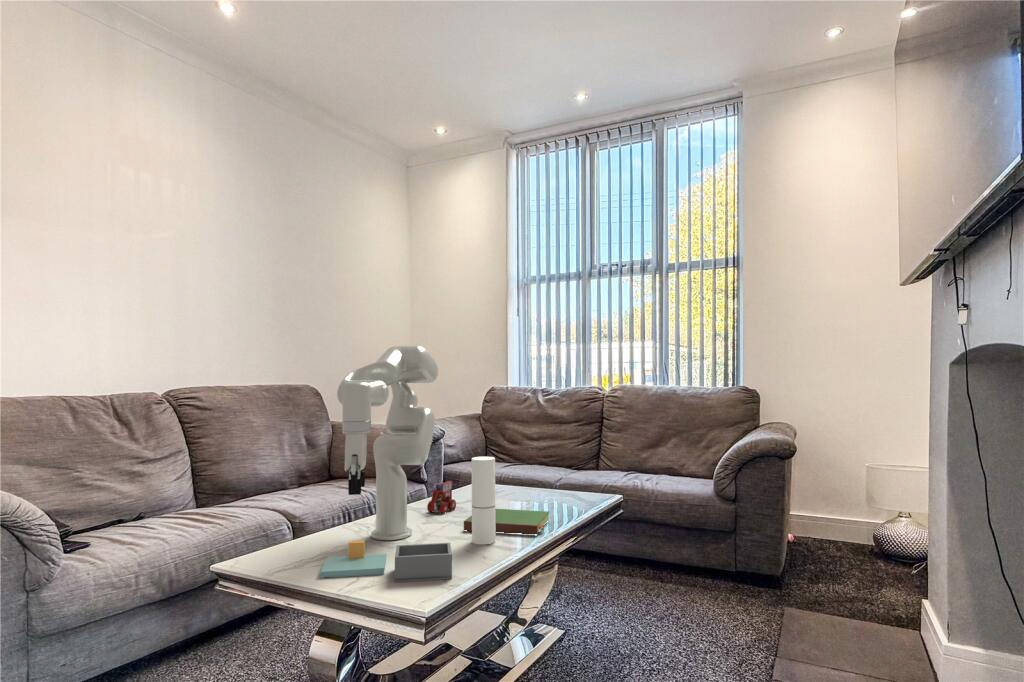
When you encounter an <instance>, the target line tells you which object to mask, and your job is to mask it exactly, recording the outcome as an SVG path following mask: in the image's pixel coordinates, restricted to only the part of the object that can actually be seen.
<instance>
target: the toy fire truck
mask: <svg viewBox="0 0 1024 682" xmlns="http://www.w3.org/2000/svg"><path fill="white" fill-rule="evenodd" d="M452 491H453V481H452V480H447V481H445V482H442V483H437V484H436V485H435V489H434V490H433V492H432V496H431V500H430V501H429V502H428V503H427V505H426V510H427V511H428V512H429V513H433V512H432V511H434V512H437V511H438V512H439V513H440V514H442V513H445V512H448V511H450V510H453V509H454V510H455V509H456V506H457V502H456V500H455V499H453V498H452V496H453V495H452ZM454 510H453V511H454Z"/></svg>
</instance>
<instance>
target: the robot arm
mask: <svg viewBox="0 0 1024 682" xmlns="http://www.w3.org/2000/svg"><path fill="white" fill-rule="evenodd" d="M438 375H439V366H438V363H437V361H436V360H435V358H434V357H433V355H431V353H430V352H429V351H428V350H427V349H426V348H424V347H423V346H420V345H394V346H391V347H390V348H387V349H386V350H385V352H384V353H383V354H381V356H380V357H379V358H378V359H377V360H376V362H373V363H370V364H368V365H364V366H362V367H359V368H357V369H355V370H352V371H350V372H349V373H348V374H347V375H346V376H345V377H344V378H343V379H342V380H341V382H339V383H340V384H339V385H338V387H337V393H336V397H337V400H338V402H339V403H340V404H341V405H342V426H341V427H342V434H343V435H345V441H344V442H345V443H344V471H345V472H349V473H348V480H347V483H348V485H347V486H348V490H347V491H348V495H349V496H353V495H354V496H355V495H361V493H362V487H365V485H366V482H365V481H366V474H365V473H366V471H365V467H366V465H367V450H368V449H367V445H368V444H367V441H368V439H367V438H368V436H367V434H370V433H372V420H371V419H372V407H380V406H383V405H384V404H386V402H387V401H388V399H389V397H390V391H389V390H390V389H389V386H390V388H391V392H392V393H391V394H392V399H391V403H390V407H389V410H388V412H387V413H388V414H387V417H386V421H385V430H386V432H387V434H386V433H385V434H381V435H380V436H378V437H377V438H376V439H375V440H374V443H373V446H372V447H373V448H372V449H373V450H372V451H373V457H374V458H373V459H374V463H375V464H374V465H375V476H376V477H375V478H376V479H375V480H376V481H375V483H376V484H375V487H376V489H375V490H376V491H375V493H376V494H375V495H376V497H375V501H376V502H375V509H376V510H375V512H376V513H375V516H376V517H375V520H376V521H375V523H376V524H375V529H373V530H371V533H370V537H371V538H372V539H375V540H378V541H379V540H380V541H396V540H403V539H406V538H408V537H410V536H411V535H412V534H413V533H412V532H413V530H412V528H410V527H408V479H407V474H406V473H405V471H404V469H403V467H402V466H420V465H423V464H425V463H426V462H427V460H428V458H429V453H430V450H431V445H432V441H433V437H434V433H435V426H436V420H435V419H436V416H435V413H434V411H433V410H432V409H431V408H429V407H424V406H418V403H419V399H418V396H417V394H416V393H415V391H414V390H413V388H411V387H410V386H409V384H430V383H433V382H435V381H436V380H437V379H438V378H437V377H438Z"/></svg>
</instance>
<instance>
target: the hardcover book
mask: <svg viewBox="0 0 1024 682" xmlns="http://www.w3.org/2000/svg"><path fill="white" fill-rule="evenodd" d="M549 513H550V511H545V510H544V511H543V510H527V509H526V510H525V509H524V510H523V509H506V508H495V526H496V532H504V533H522V534H538V532H539V530H540V529H542V527H543V526H544V524H545V523H546V522H547V521H548V522H549ZM548 522H547V523H548ZM544 527H545V526H544ZM464 530H467V531H472V515H470V516H469V517H468V518H466V519H465V520H463V531H464ZM542 530H543V529H542ZM538 535H539V534H538Z"/></svg>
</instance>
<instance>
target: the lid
mask: <svg viewBox="0 0 1024 682" xmlns="http://www.w3.org/2000/svg"><path fill="white" fill-rule="evenodd" d="M365 547H366V542H365V540H350V541H349V542H348V555H344V556H327V557H326V560H325V562H324V564H323V566H322V568H321V570H320V572H319V575H320V576H319V578H320V577H333V578H345V577H346V578H347V577H348V576H349V577H362V576H379V575H380V576H381V575H384V574H385V571H386V565H387V564H386V563H387V553H379V554H377V553H376V554H366V553H365V552H366V551H365Z"/></svg>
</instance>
